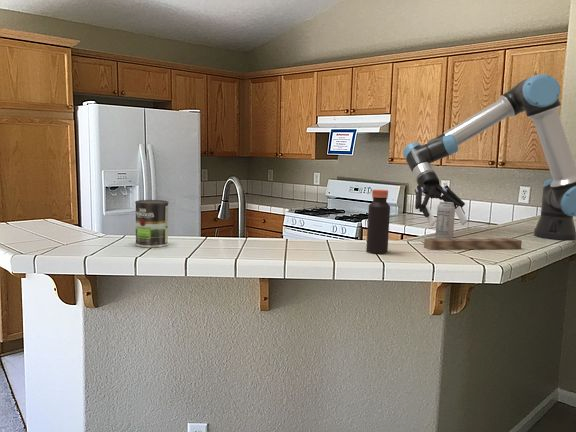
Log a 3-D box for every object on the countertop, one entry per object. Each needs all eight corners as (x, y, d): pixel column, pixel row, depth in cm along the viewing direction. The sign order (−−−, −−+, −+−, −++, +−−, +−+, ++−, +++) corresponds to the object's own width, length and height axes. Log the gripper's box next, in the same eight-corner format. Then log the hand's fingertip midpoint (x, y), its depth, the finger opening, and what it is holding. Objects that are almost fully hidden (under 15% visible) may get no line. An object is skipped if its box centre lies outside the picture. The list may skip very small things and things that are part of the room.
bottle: (365, 249, 169) (368, 189, 166) (385, 250, 169) (389, 189, 166) (367, 253, 162) (370, 190, 160) (389, 254, 162) (392, 191, 159)
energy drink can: (456, 244, 183) (459, 203, 181) (444, 246, 179) (448, 203, 177) (442, 242, 188) (445, 201, 186) (431, 243, 184) (434, 201, 182)
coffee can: (156, 249, 159) (156, 203, 158) (128, 245, 163) (128, 201, 161) (174, 243, 169) (174, 201, 167) (148, 240, 173) (147, 198, 171)
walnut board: (512, 246, 184) (512, 237, 183) (521, 249, 179) (521, 240, 178) (423, 247, 177) (424, 238, 176) (430, 250, 172) (431, 240, 171)
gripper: (448, 184, 200) (471, 228, 188) (393, 184, 190) (414, 230, 179) (458, 171, 194) (483, 216, 182) (402, 170, 185) (424, 217, 173)
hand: (449, 223), depth 180 cm, fingers open, 13 cm apart
